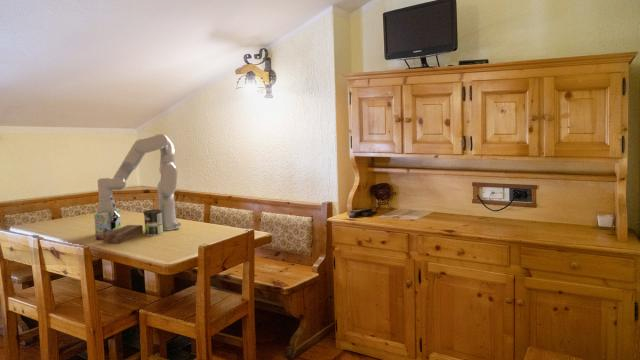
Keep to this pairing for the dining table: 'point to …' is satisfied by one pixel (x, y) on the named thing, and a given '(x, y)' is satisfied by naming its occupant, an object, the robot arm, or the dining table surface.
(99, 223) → the snack box
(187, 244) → the dining table surface
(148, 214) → the coffee can
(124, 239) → the walnut block
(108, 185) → the robot arm
